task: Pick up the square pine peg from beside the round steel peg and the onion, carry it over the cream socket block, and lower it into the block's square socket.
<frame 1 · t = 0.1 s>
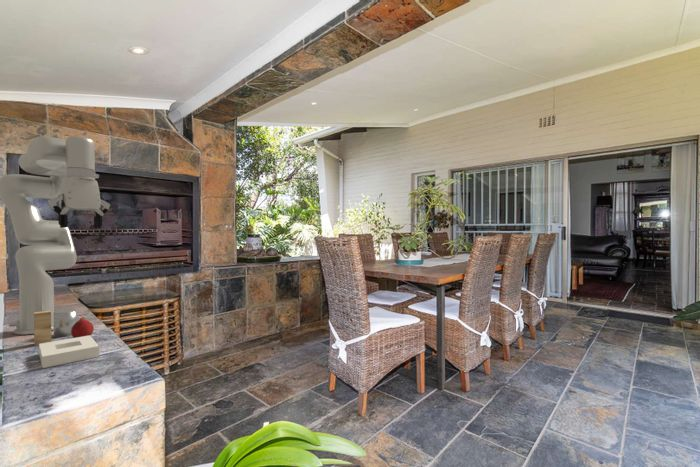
hand: (81, 227, 114), 37 cm above the countertop, tool pointing down, fingers open, 9 cm apart
round peg: (66, 334, 123), on the countertop
socket block: (68, 355, 100), on the countertop
square peg: (42, 343, 113), on the countertop
onion: (82, 342, 114), on the countertop
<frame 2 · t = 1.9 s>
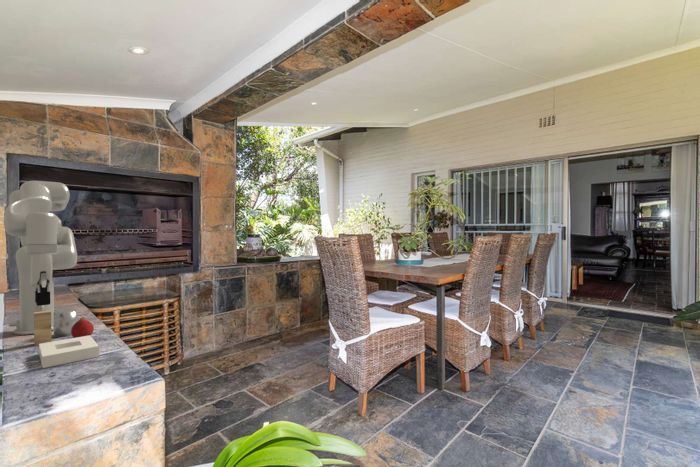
hand: (42, 303, 112), 13 cm above the countertop, tool pointing down, fingers open, 9 cm apart
nothing on the countertop moved.
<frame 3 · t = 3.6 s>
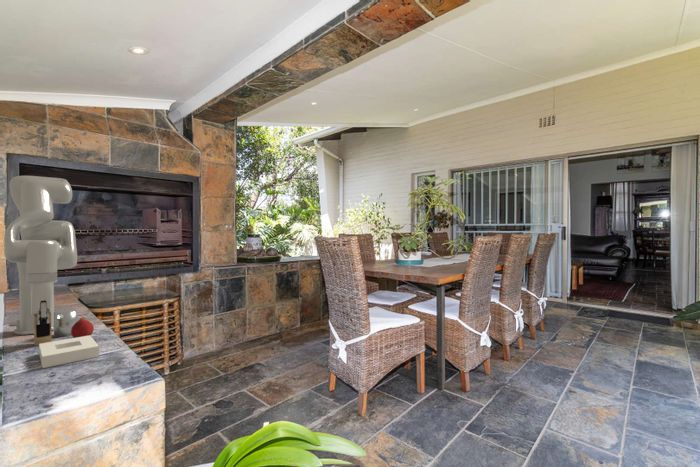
hand: (42, 334, 113), 3 cm above the countertop, tool pointing down, fingers closed on square peg, 4 cm apart
square peg: (42, 343, 113), on the countertop, touching gripper
everything else where it was.
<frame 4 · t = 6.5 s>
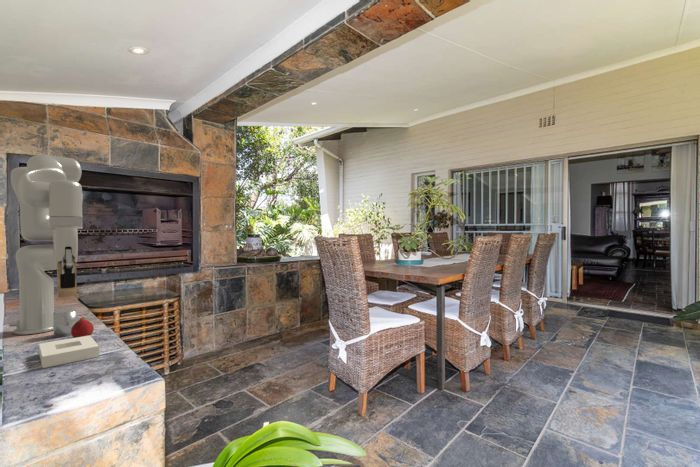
hand: (66, 286, 101), 20 cm above the countertop, tool pointing down, fingers closed on square peg, 4 cm apart
square peg: (67, 296, 101), point 17 cm above the countertop, touching gripper
everything else where it was.
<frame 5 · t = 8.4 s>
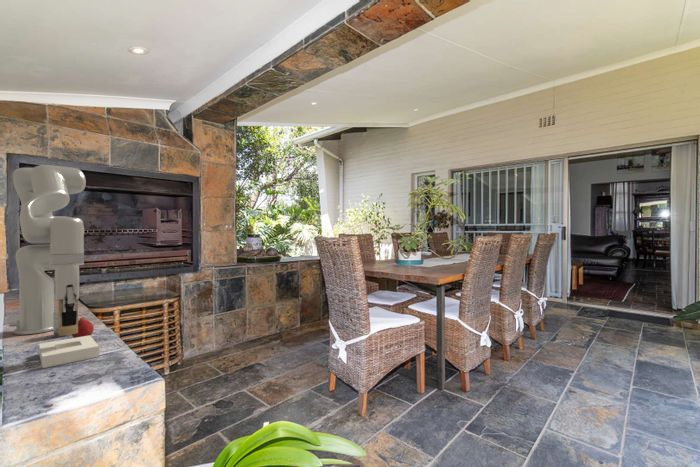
hand: (68, 323, 100), 9 cm above the countertop, tool pointing down, fingers closed on square peg, 4 cm apart
square peg: (68, 333, 100), point 6 cm above the countertop, touching gripper
everything else where it was.
when the fingers open (4 cm above the countertop, at t = 9.8 s): square peg stays where it is, resting in socket block.
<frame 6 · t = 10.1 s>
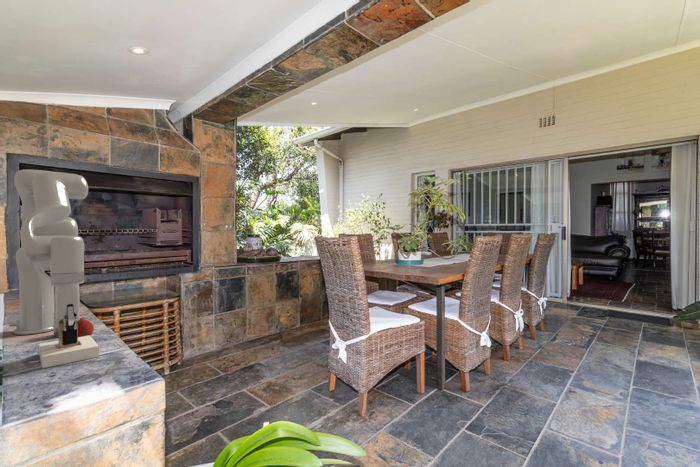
hand: (68, 340, 100), 4 cm above the countertop, tool pointing down, fingers open, 6 cm apart
square peg: (68, 355, 100), resting in socket block
everything else where it was.
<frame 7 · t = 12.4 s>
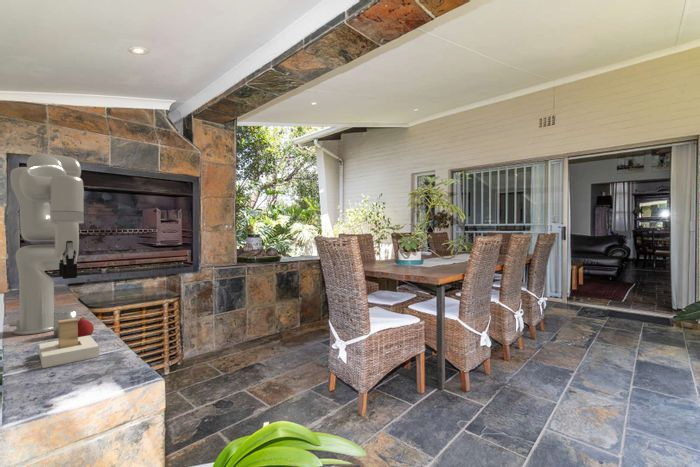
hand: (67, 276, 102), 22 cm above the countertop, tool pointing down, fingers open, 9 cm apart
nothing on the countertop moved.
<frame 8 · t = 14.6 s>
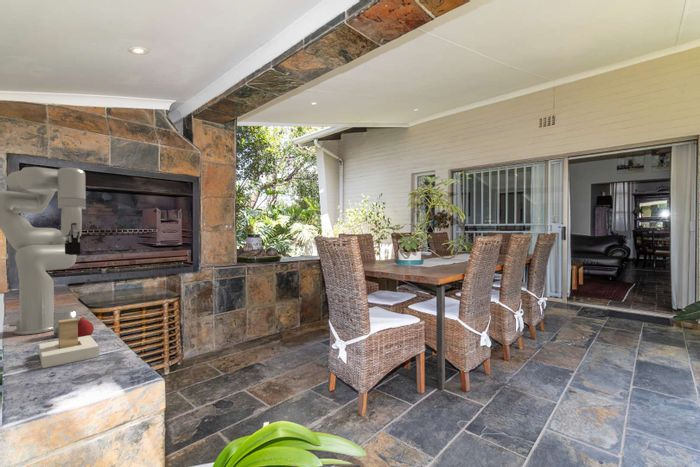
hand: (72, 254, 120), 28 cm above the countertop, tool pointing down, fingers open, 9 cm apart
nothing on the countertop moved.
at the end: square peg 0.1 cm from the socket block (horizontally); square peg resting in socket block; square peg tilted 0° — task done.
